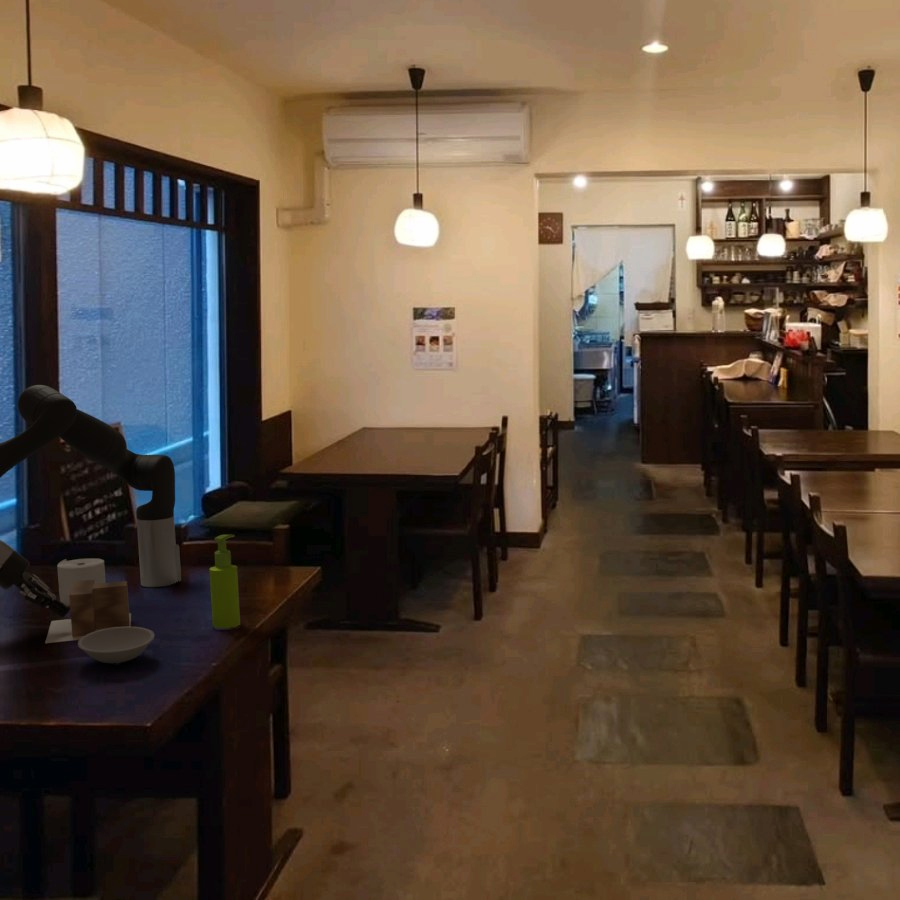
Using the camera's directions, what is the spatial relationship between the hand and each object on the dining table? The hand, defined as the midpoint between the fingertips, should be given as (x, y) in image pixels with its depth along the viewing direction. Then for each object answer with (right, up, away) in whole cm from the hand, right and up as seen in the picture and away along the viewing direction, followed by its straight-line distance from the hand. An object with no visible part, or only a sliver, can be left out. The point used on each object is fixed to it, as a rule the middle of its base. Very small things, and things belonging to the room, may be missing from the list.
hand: (66, 613), depth 232 cm
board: (+11, -4, +4) cm, 12 cm away
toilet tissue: (-6, -2, +27) cm, 28 cm away
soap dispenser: (+34, -4, +4) cm, 34 cm away
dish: (+17, -7, -20) cm, 28 cm away
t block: (+7, -3, +3) cm, 8 cm away
